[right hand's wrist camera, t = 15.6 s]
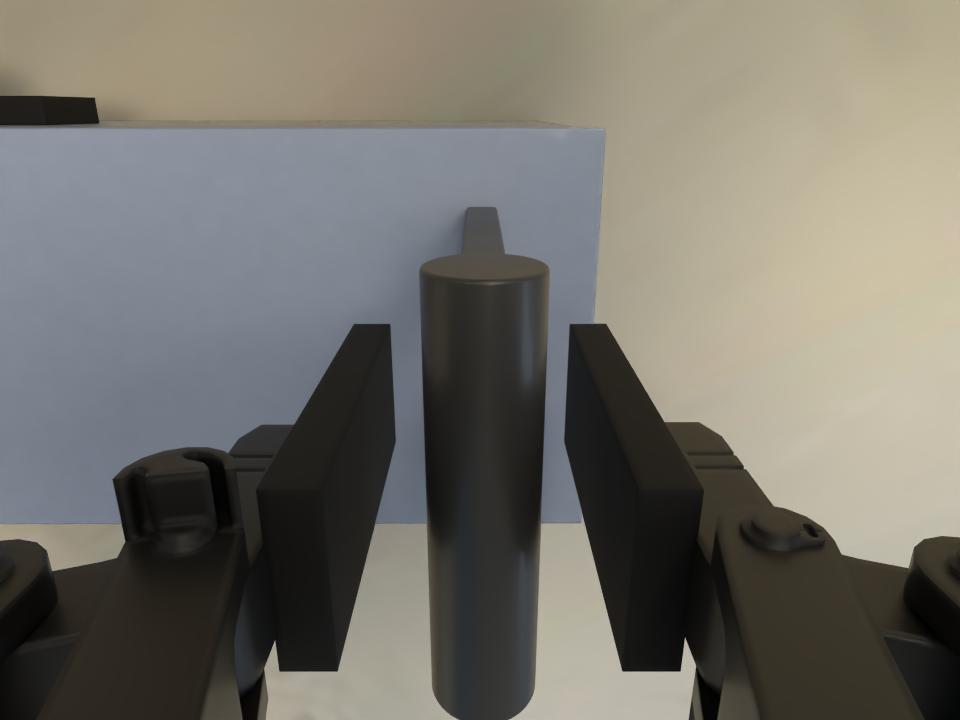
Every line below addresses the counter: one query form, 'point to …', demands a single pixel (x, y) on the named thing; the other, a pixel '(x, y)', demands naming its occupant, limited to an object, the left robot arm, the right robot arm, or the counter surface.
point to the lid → (311, 331)
